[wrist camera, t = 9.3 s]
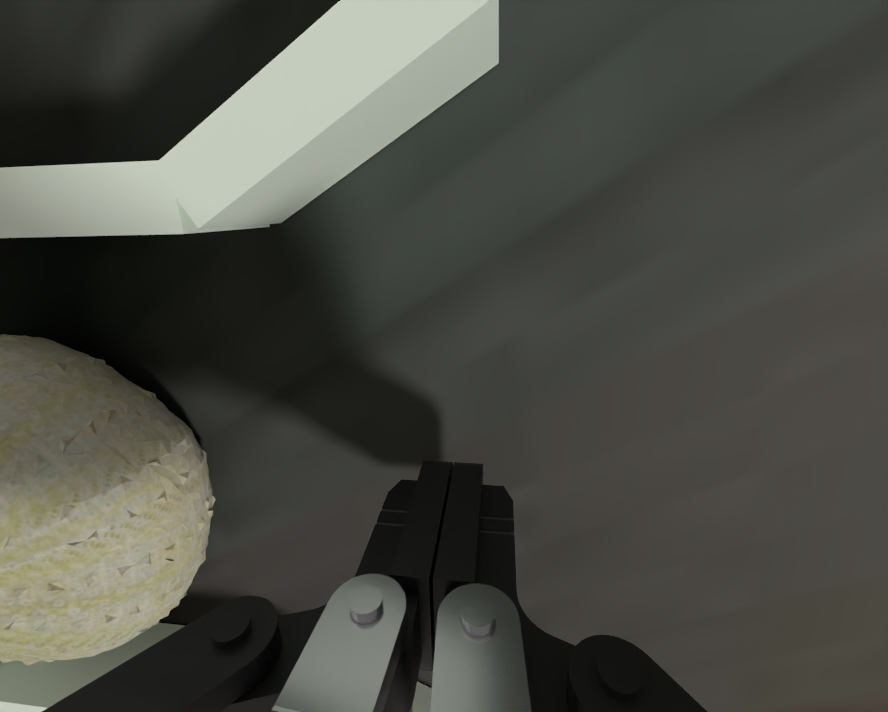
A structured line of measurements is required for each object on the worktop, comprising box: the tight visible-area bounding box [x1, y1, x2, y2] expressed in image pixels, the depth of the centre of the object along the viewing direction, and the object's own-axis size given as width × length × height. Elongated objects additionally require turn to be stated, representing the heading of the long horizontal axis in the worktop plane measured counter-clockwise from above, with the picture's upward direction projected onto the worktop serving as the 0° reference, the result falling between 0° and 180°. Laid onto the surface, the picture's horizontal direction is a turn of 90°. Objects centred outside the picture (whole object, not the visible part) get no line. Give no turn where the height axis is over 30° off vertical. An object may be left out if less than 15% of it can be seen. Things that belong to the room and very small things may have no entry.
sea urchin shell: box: [0, 334, 216, 666], centre depth 12 cm, size 9×8×8 cm
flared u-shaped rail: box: [0, 0, 499, 712], centre depth 12 cm, size 22×18×3 cm
